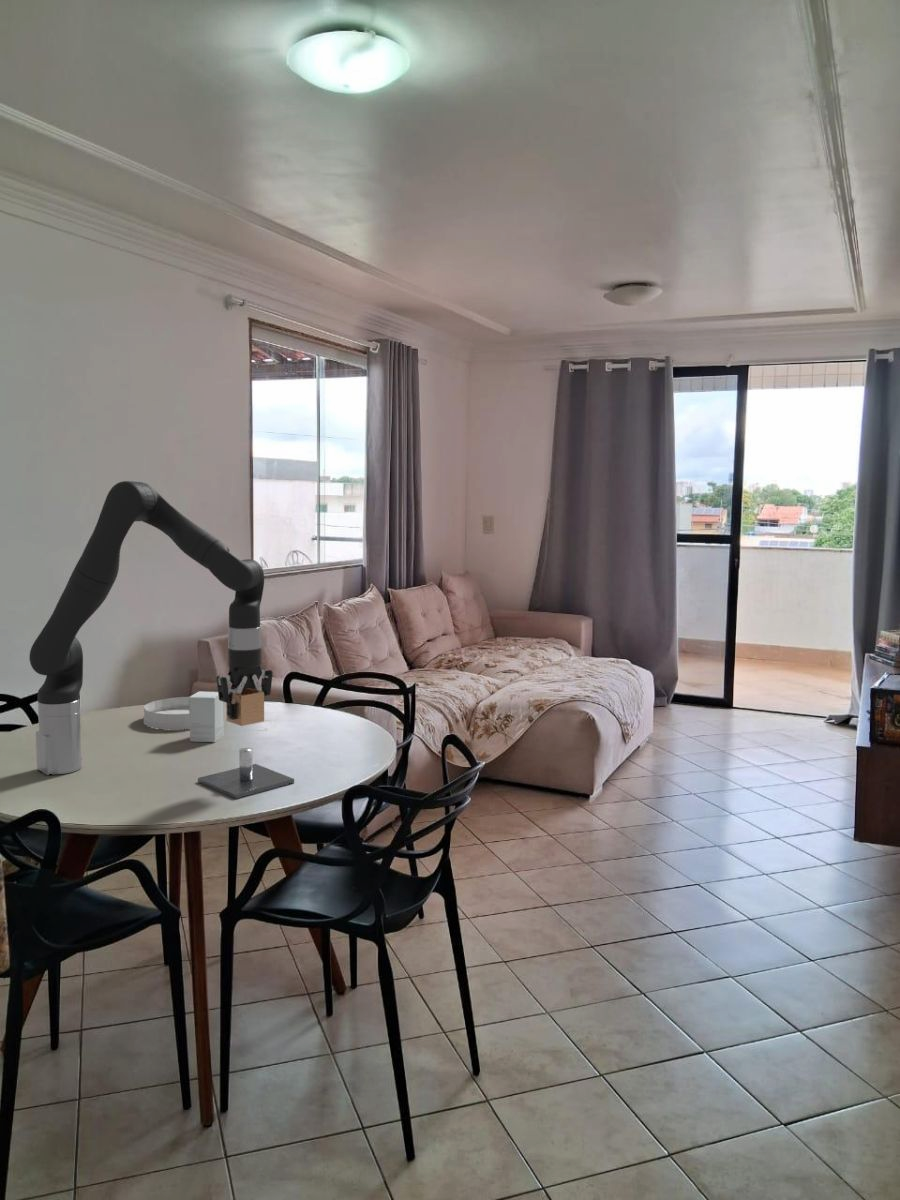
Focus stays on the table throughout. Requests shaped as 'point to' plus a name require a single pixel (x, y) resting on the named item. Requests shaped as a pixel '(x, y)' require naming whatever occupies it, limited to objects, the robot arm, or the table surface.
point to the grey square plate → (245, 778)
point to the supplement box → (206, 717)
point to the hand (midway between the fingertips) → (245, 716)
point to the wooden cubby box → (248, 708)
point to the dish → (168, 714)
